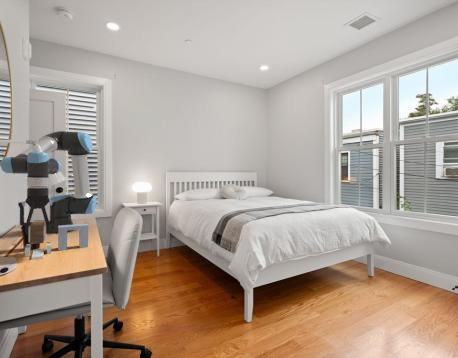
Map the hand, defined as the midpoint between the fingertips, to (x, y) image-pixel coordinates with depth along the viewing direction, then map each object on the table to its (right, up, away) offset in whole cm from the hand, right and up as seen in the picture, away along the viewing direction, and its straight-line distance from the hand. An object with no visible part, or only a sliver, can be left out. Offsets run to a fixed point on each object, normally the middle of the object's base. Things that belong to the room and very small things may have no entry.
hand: (37, 240), depth 112 cm
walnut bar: (-2, -1, +3) cm, 4 cm away
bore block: (+5, -8, +17) cm, 20 cm away
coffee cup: (-13, -8, +13) cm, 20 cm away
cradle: (-3, -8, +5) cm, 10 cm away
